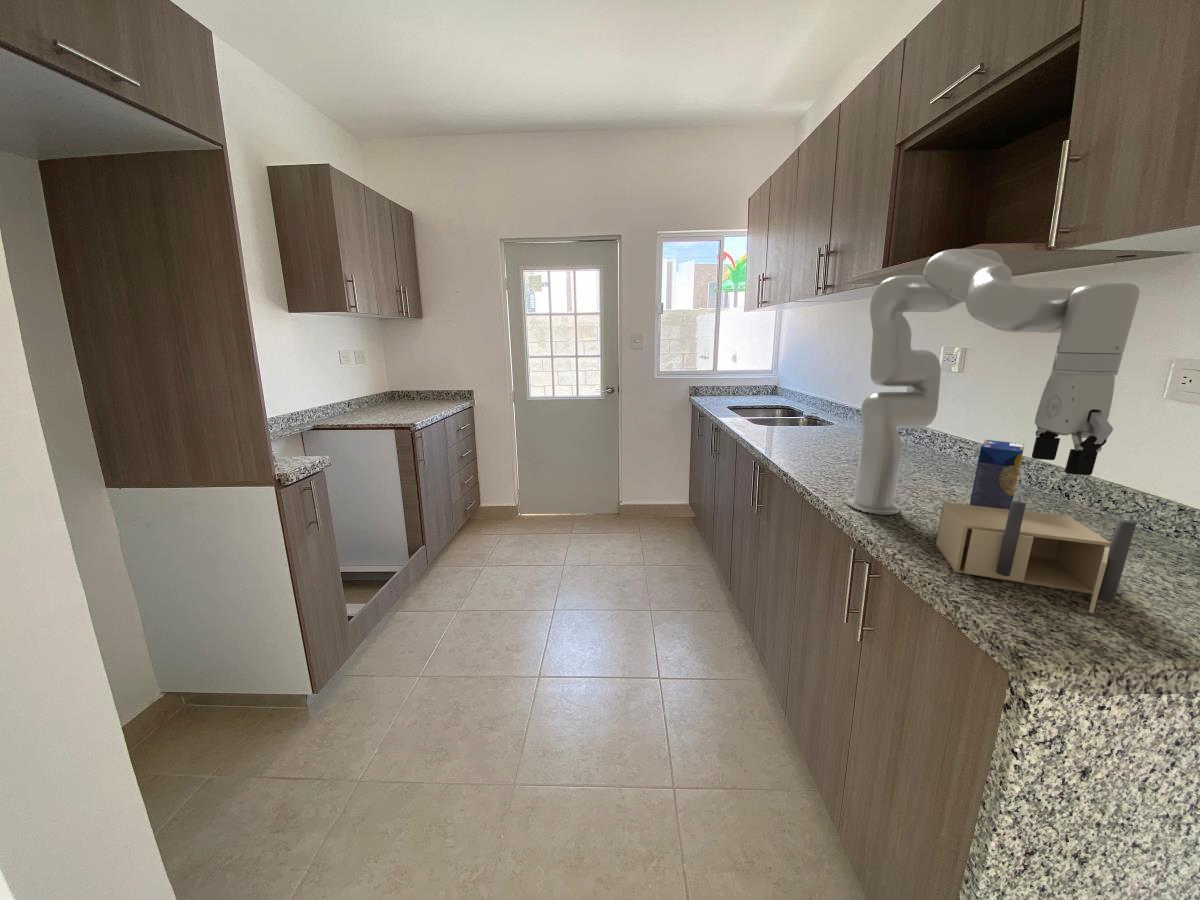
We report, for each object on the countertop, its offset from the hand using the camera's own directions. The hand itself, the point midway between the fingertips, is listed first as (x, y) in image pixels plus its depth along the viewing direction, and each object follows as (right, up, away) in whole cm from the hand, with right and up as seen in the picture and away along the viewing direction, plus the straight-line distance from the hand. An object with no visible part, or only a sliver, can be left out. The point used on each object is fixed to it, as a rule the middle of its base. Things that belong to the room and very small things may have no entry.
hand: (1059, 466), depth 78 cm
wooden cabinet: (+4, -21, +14) cm, 26 cm away
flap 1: (-4, -22, +8) cm, 24 cm away
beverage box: (+11, -18, +28) cm, 35 cm away
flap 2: (+7, -24, 0) cm, 25 cm away
